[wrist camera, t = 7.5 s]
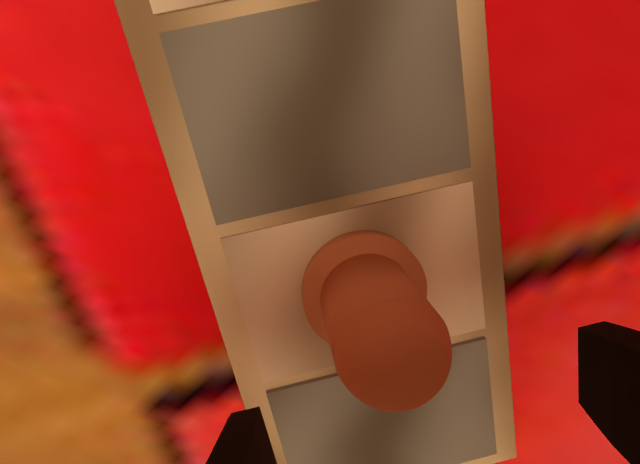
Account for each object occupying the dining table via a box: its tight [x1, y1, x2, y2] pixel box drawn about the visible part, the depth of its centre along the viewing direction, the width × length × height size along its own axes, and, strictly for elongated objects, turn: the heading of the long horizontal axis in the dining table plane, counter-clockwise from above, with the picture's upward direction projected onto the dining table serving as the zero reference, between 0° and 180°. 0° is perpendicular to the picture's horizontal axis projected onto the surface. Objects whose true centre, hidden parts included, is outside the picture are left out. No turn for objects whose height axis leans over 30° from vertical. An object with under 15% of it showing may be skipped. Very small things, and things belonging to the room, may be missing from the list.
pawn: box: [302, 230, 452, 412], centre depth 12 cm, size 4×4×6 cm
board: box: [114, 0, 517, 464], centre depth 14 cm, size 11×27×1 cm, turn 12°
